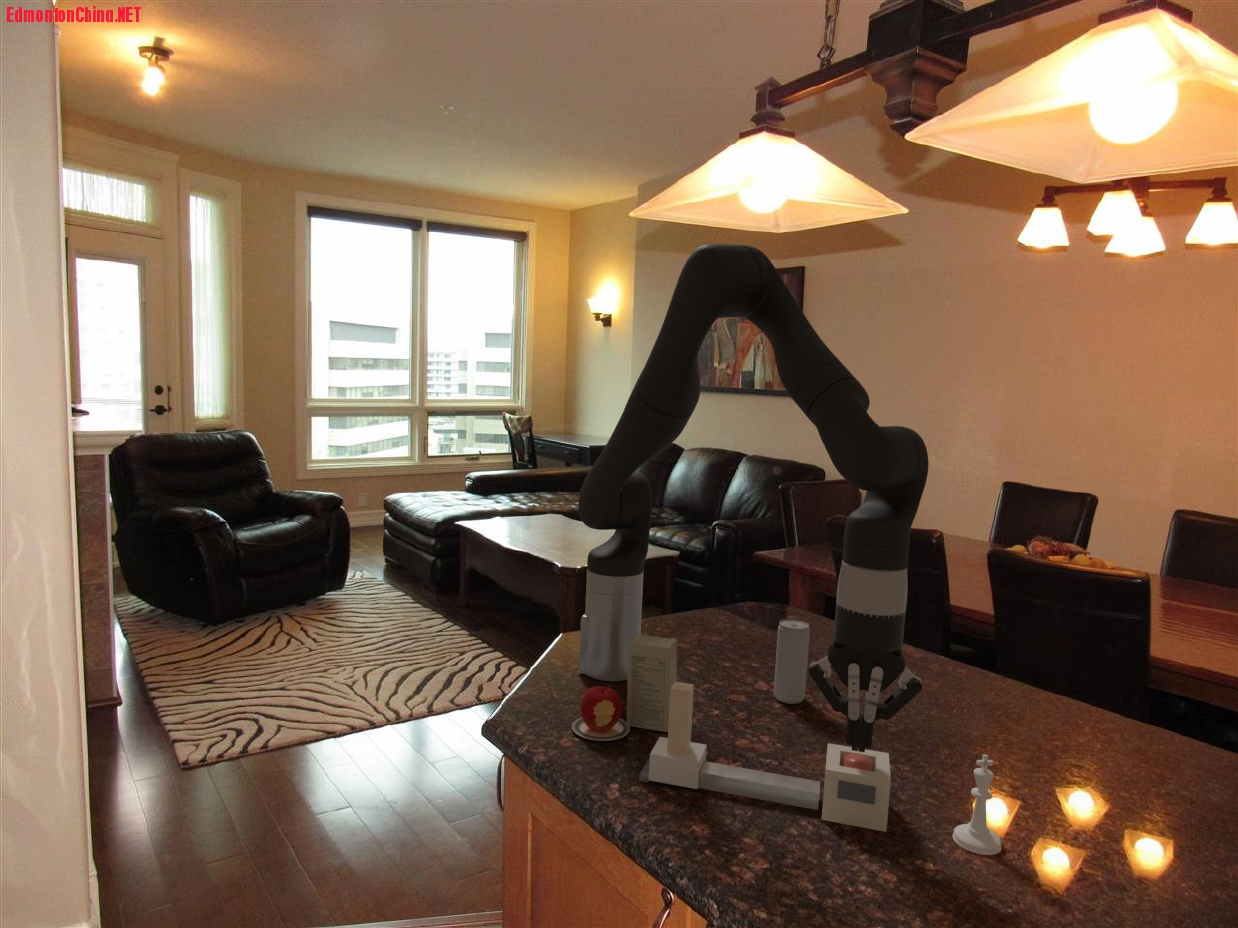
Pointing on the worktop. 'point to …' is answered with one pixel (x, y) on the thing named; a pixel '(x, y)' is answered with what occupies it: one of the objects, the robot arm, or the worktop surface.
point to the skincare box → (650, 681)
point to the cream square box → (856, 789)
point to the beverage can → (791, 661)
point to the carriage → (678, 744)
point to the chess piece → (979, 816)
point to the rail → (754, 784)
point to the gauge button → (857, 762)
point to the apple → (601, 715)
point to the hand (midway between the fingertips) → (858, 748)
